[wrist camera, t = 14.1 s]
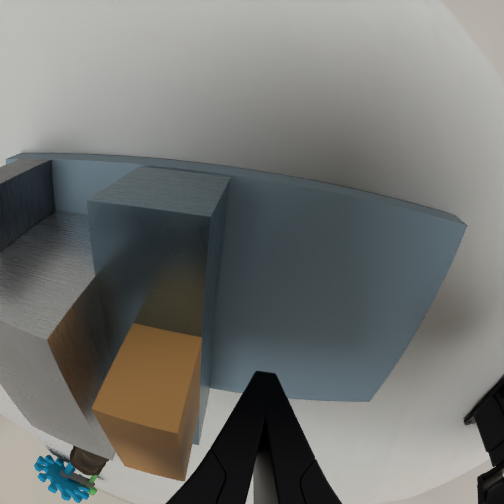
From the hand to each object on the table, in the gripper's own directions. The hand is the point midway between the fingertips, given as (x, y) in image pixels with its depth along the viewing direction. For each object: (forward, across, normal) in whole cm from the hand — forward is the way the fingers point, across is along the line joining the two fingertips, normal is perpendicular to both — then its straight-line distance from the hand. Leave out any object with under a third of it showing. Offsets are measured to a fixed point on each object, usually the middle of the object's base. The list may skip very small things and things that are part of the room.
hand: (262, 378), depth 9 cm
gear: (+4, +24, +41) cm, 48 cm away
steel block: (+3, +7, 0) cm, 8 cm away
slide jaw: (+3, +3, 0) cm, 4 cm away
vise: (+4, +2, 0) cm, 5 cm away
